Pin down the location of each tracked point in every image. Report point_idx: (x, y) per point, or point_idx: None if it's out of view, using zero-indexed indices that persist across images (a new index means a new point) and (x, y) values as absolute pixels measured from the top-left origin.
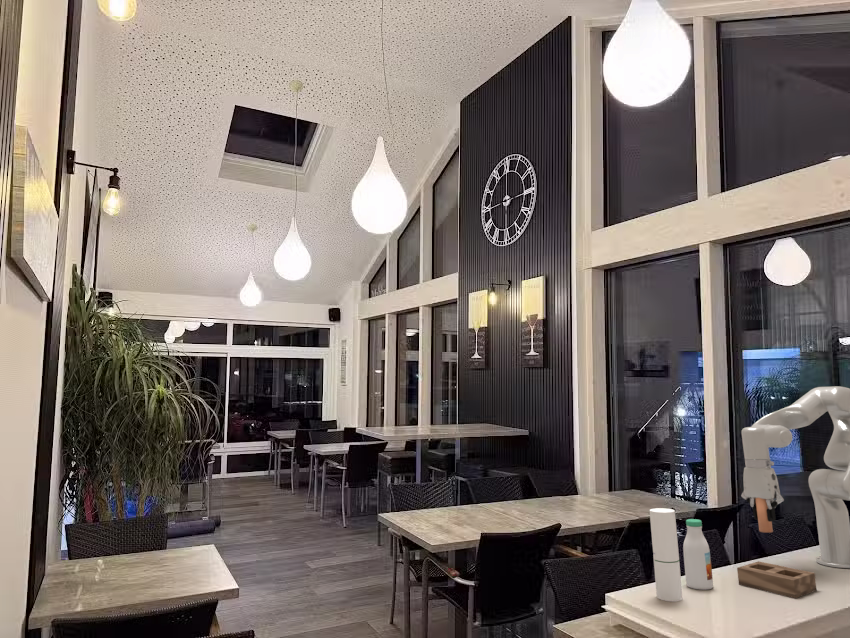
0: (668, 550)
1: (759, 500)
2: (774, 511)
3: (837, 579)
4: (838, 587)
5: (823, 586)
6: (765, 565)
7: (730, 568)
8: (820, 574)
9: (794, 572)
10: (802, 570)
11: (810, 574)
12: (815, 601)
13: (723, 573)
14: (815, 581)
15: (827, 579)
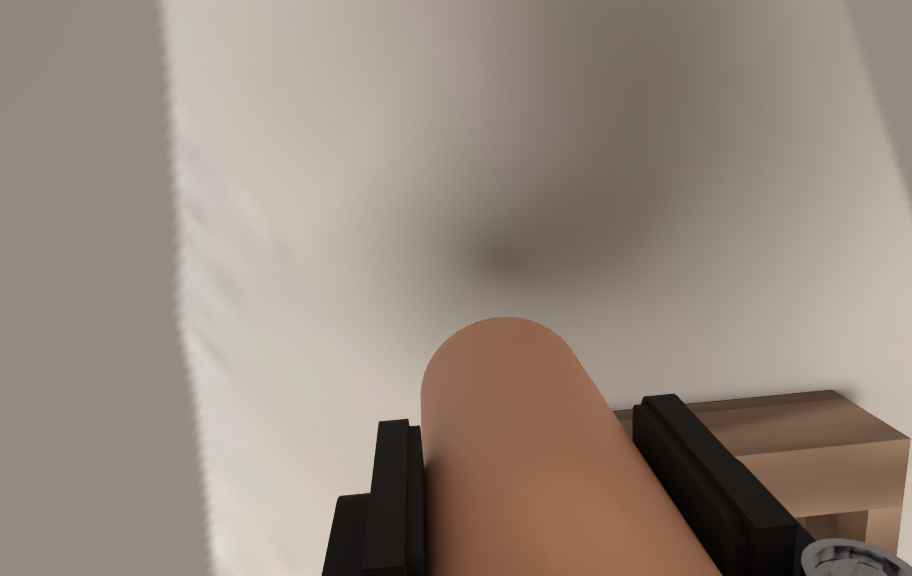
0: None
1: None
2: (800, 539)
3: (823, 43)
4: (893, 226)
5: (825, 281)
6: None
7: (234, 397)
8: (692, 12)
9: (803, 512)
10: (829, 447)
11: (903, 487)
12: (899, 556)
13: (298, 527)
14: (869, 414)
15: (779, 103)
